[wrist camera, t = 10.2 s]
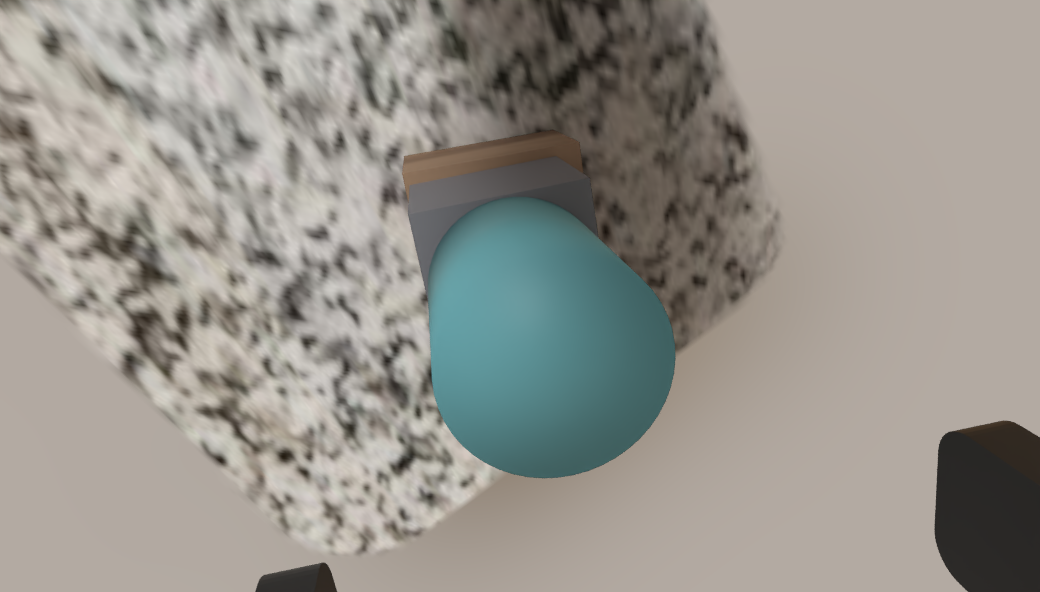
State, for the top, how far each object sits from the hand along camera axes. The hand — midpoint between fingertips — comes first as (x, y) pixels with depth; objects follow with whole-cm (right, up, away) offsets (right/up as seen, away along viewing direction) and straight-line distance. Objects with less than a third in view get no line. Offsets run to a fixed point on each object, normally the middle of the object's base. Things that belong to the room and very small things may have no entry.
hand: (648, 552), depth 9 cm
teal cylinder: (-2, +4, +11) cm, 12 cm away
